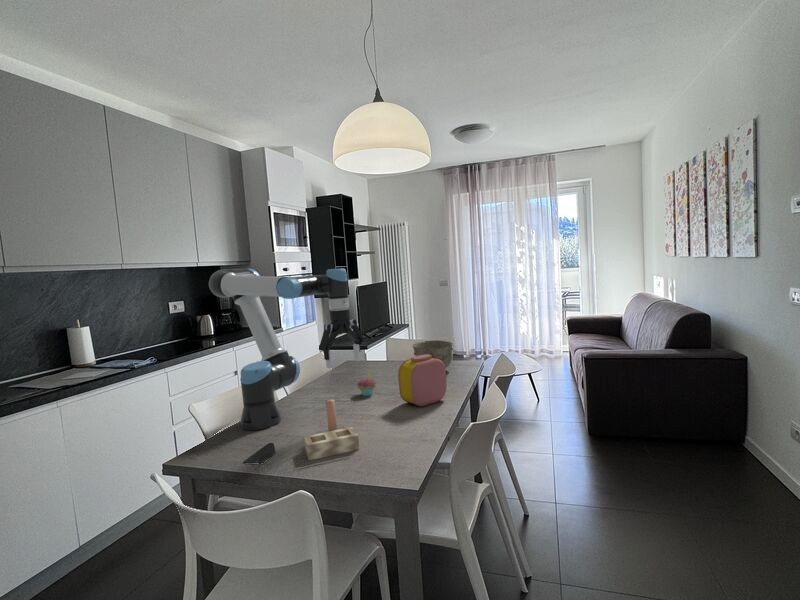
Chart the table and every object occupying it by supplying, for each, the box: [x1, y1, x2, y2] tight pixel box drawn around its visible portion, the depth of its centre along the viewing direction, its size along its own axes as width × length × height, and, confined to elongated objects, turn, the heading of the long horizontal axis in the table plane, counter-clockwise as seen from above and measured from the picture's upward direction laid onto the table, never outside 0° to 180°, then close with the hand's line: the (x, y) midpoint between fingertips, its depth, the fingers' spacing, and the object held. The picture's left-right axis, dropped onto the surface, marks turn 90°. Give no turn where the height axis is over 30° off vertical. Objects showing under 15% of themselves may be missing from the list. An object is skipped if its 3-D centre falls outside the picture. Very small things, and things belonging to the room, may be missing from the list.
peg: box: [325, 398, 338, 431], centre depth 152 cm, size 3×3×12 cm
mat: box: [316, 426, 345, 434], centre depth 152 cm, size 10×10×1 cm
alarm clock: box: [397, 354, 448, 407], centre depth 181 cm, size 18×11×19 cm, turn 126°
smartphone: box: [242, 442, 277, 464], centre depth 140 cm, size 7×1×15 cm
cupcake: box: [357, 368, 377, 397], centre depth 197 cm, size 9×8×12 cm
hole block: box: [303, 426, 360, 461], centre depth 139 cm, size 16×8×5 cm, turn 110°
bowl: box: [412, 339, 454, 370], centre depth 230 cm, size 22×22×15 cm
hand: (343, 364), depth 166 cm, fingers open, 13 cm apart
